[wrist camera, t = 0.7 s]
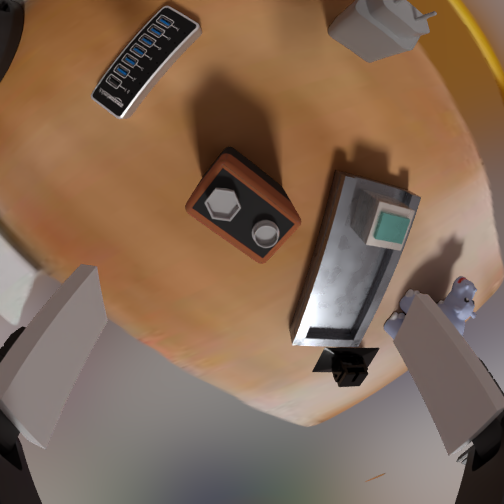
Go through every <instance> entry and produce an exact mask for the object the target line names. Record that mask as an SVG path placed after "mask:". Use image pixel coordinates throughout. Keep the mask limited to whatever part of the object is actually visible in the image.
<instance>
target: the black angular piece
mask: <svg viewBox="0 0 504 504" xmlns="http://www.w3.org/2000/svg"><path fill="white" fill-rule="evenodd" d="M378 350H379V348H324V350H323V352H322V354H321V356H320V358H319V360H318V362H317V364H316V365H315V367H314V369H313V371H312V372H332V373H333V377H334V379H335V382H337V383H338V386H339V387H349V386H360V385H361V383H362V382H363V381H364V379H365V378H366V376H367V375H368V372H367V370H368V366H369V365H370V363H371V361H372V360H373V358H374V357H375V355H376V353H377V352H378Z"/></svg>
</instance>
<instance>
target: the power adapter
mask: <svg viewBox="0 0 504 504" xmlns="http://www.w3.org/2000/svg"><path fill="white" fill-rule="evenodd" d="M434 15H437V13H436V12H435V11H434V12H431V13H428V14H425V15H422V14H421V13H420V12H419V11H418V10H417V9H416V8H415V7H413V6H412V5H411V4H410V3H409V2H407V1H406V0H355V1H354V2H353V3H352V4H351V5H350V6H348V7H347V8H346V9H345V10H344V11H343V12H342V13H341V14H340V15H339V16H337V17H336V18H335V20H334V21H333V23H332V24H331V25H330V27H329V28H328V34H329V35H330V36H331V37H332V38H333V39H335V40H336V41H338V42H339V43H341V44H342V45H344V46H345V47H347V48H348V49H350V50H351V51H352V52H354V53H355V54H357V55H358V56H359V57H361V58H362V59H363V60H365V61H366V62H374V61H377V60H380V59H383V58H386V57H389V56H392V55H396V54H399V53H402V52H406V51H410V50H412V49H413V48H414V46H415V45H416V43H417V41H418V39H419V37H420V35H424V34H427V33H429V32H430V30H429V27H428V23H427V20H426V19H427V18H429V17H431V16H434Z"/></svg>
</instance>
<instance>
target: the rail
mask: <svg viewBox="0 0 504 504" xmlns="http://www.w3.org/2000/svg"><path fill="white" fill-rule="evenodd" d="M420 199H421V197H419V196H417V195H416V194H414V193H412V192H410V191H409V190H406V189H402V188H399V187H396V186H393V185H389V184H386V183H382V182H379V181H375V180H372V179H368V178H365V177H361V176H357V175H353V174H349V173H345V172H341V171H337V170H335V174H334V178H333V183H332V187H331V191H330V195H329V198H328V202H327V206H326V210H325V214H324V218H323V221H322V225H321V229H320V232H319V236H318V239H317V243H316V246H315V250H314V253H313V257H312V260H311V263H310V267H309V270H308V273H307V277H306V280H305V283H304V286H303V290H302V293H301V296H300V299H299V302H298V305H297V308H296V311H295V314H294V317H293V320H292V323H291V326H290V329H289V331H290V336H291V340H292V345H303V346H332V347H358V346H359V344H360V343H361V341H362V338H363V336H364V334H365V333H366V331H367V329H368V327H369V325H370V323H371V321H372V319H373V317H374V315H375V313H376V311H377V309H378V307H379V304H380V302H381V300H382V298H383V296H384V294H385V291H386V289H387V287H388V285H389V282H390V280H391V278H392V276H393V273H394V271H395V268H396V266H397V264H398V261H399V259H400V256H401V254H402V251H403V248H404V246H405V243H406V240H407V238H408V235H409V232H410V229H411V227H412V224H413V221H414V218H415V215H416V212H417V209H418V205H419V202H420Z"/></svg>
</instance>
